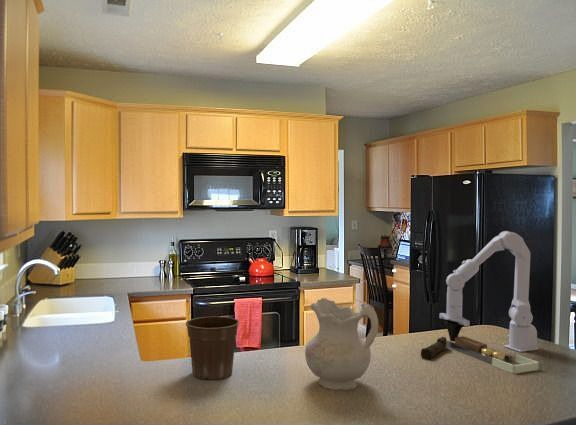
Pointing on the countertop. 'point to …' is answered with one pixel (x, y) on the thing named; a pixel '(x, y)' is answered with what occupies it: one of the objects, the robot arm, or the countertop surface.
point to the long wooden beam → (470, 343)
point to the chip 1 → (487, 351)
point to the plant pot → (212, 346)
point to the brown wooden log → (434, 348)
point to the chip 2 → (498, 355)
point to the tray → (524, 365)
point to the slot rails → (474, 352)
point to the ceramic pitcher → (340, 345)
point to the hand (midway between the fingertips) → (453, 340)
